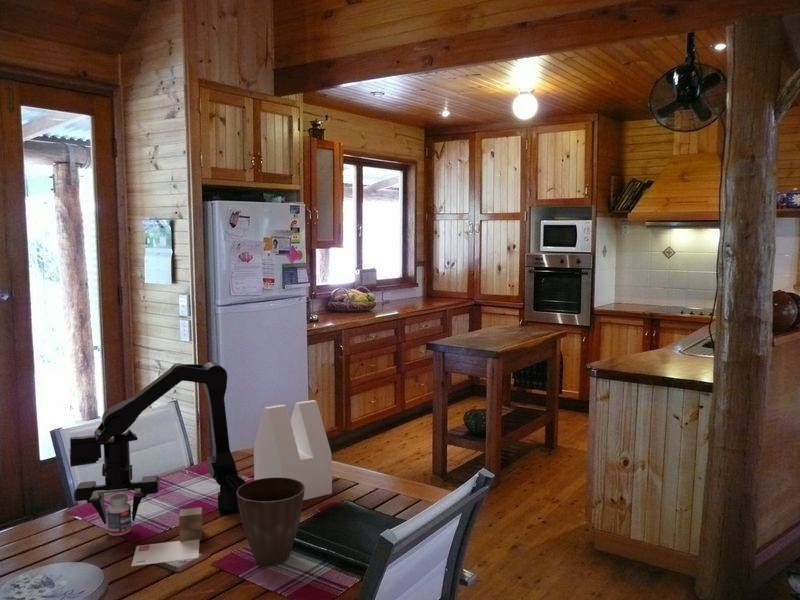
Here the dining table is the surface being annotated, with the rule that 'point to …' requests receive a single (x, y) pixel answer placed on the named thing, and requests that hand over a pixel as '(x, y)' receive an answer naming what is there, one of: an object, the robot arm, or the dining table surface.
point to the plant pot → (271, 517)
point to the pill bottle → (119, 515)
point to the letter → (166, 552)
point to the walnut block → (190, 524)
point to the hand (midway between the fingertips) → (119, 521)
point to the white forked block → (294, 448)
